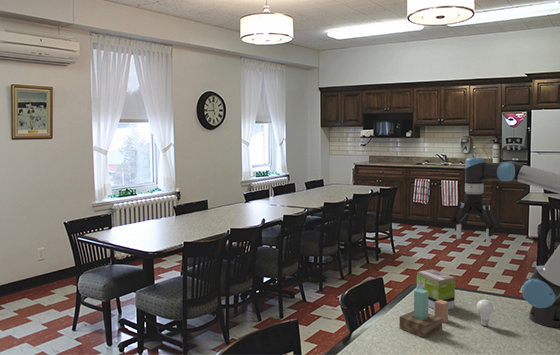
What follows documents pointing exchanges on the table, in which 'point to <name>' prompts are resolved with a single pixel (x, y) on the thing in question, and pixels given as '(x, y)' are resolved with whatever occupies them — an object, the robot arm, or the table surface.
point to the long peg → (421, 304)
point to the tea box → (437, 287)
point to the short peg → (441, 309)
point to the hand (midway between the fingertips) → (473, 241)
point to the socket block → (420, 324)
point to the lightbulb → (484, 310)
